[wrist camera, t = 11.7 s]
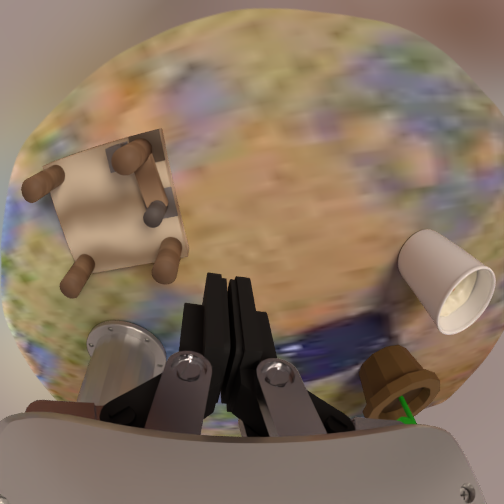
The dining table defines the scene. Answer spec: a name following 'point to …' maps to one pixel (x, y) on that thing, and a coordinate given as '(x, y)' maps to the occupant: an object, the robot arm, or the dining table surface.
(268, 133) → the dining table surface
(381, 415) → the flowerpot
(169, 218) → the stool
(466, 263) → the white paper cup
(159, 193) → the hinged leg
